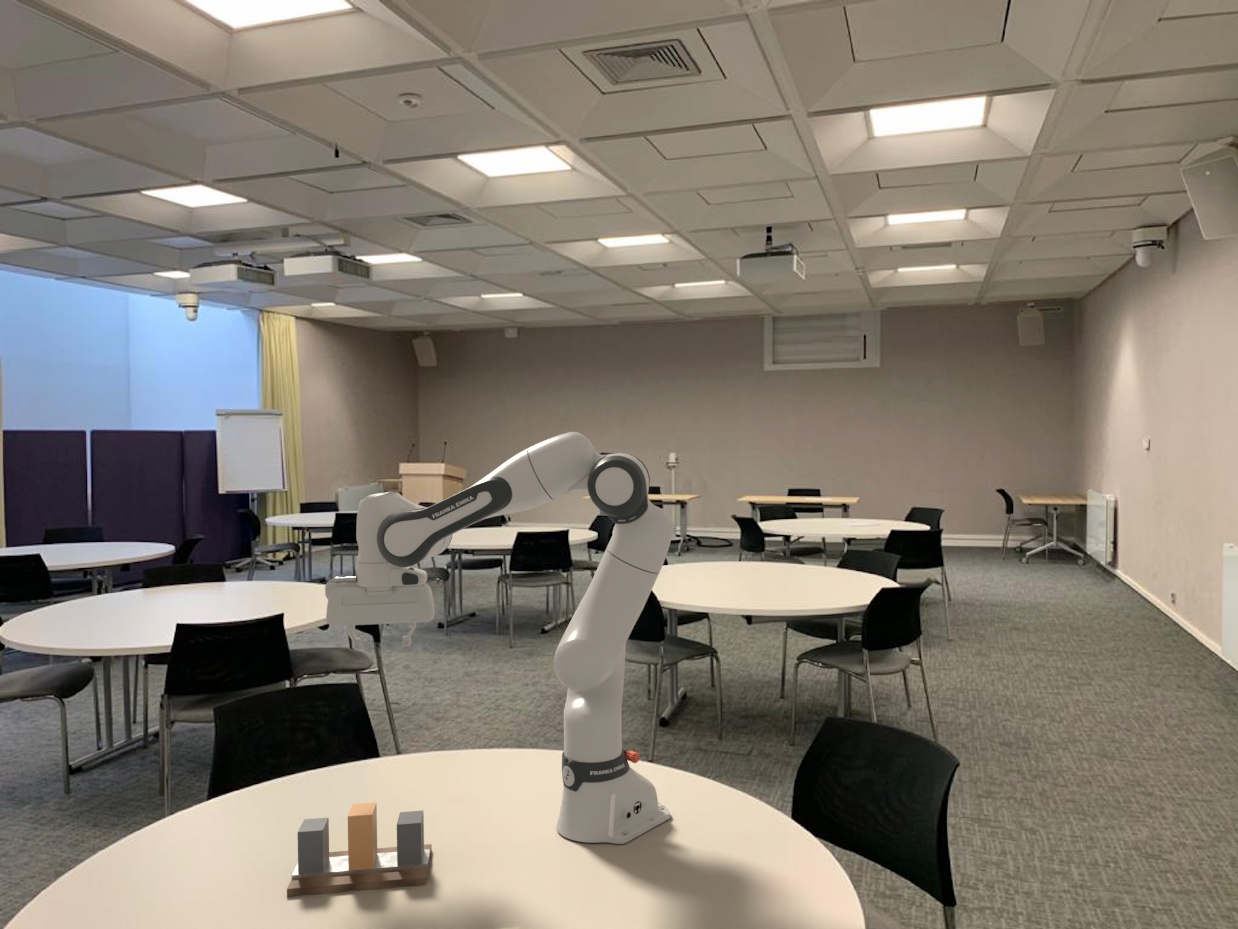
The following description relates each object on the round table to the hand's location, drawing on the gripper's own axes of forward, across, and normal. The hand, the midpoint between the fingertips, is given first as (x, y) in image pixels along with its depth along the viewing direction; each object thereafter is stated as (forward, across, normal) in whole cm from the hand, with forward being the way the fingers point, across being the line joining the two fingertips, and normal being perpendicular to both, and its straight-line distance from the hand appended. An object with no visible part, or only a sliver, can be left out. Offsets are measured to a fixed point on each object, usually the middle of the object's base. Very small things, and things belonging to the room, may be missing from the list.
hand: (381, 646), depth 163 cm
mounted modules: (+32, -1, -20) cm, 38 cm away
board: (+34, -1, -20) cm, 40 cm away
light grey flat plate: (+33, -1, -20) cm, 39 cm away
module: (+32, -1, -20) cm, 38 cm away
